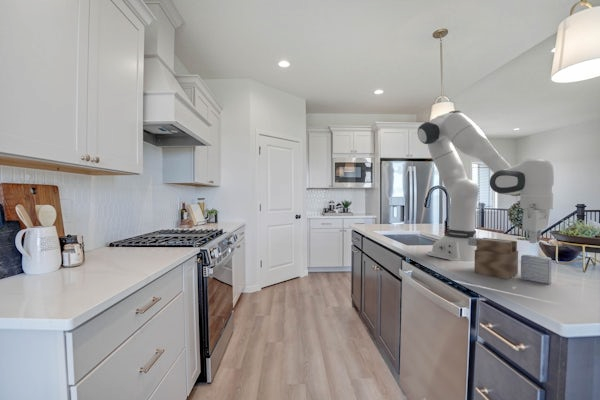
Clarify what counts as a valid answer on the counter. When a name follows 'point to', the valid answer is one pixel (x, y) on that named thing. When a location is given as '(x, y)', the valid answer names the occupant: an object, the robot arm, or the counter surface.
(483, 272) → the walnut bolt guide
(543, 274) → the medicine box
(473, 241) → the grey square bar
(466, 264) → the counter surface
